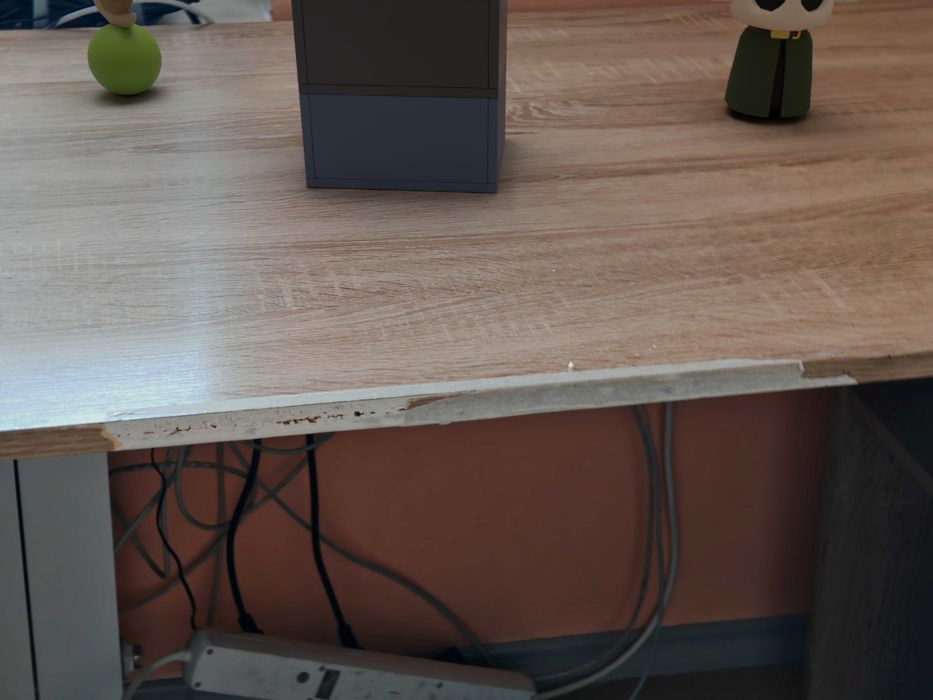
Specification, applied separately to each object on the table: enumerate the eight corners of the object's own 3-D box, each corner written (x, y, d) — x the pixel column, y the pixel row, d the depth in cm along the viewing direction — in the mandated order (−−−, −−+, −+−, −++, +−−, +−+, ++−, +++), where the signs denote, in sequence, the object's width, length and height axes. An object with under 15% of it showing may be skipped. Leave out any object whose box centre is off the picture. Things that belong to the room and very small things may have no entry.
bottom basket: (306, 187, 68) (298, 93, 65) (335, 132, 77) (330, 48, 73) (497, 193, 67) (498, 98, 64) (505, 137, 76) (506, 51, 73)
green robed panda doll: (697, 126, 78) (719, -65, 71) (686, 95, 84) (704, -84, 77) (851, 129, 77) (888, -64, 70) (829, 97, 83) (860, -82, 76)
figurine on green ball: (135, 76, 88) (110, -81, 82) (180, 92, 84) (157, -70, 78) (74, 90, 85) (43, -71, 79) (117, 109, 81) (88, -60, 75)
